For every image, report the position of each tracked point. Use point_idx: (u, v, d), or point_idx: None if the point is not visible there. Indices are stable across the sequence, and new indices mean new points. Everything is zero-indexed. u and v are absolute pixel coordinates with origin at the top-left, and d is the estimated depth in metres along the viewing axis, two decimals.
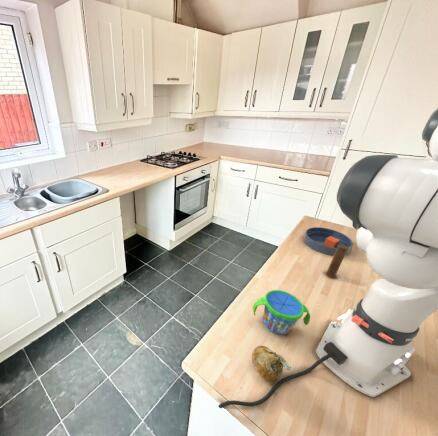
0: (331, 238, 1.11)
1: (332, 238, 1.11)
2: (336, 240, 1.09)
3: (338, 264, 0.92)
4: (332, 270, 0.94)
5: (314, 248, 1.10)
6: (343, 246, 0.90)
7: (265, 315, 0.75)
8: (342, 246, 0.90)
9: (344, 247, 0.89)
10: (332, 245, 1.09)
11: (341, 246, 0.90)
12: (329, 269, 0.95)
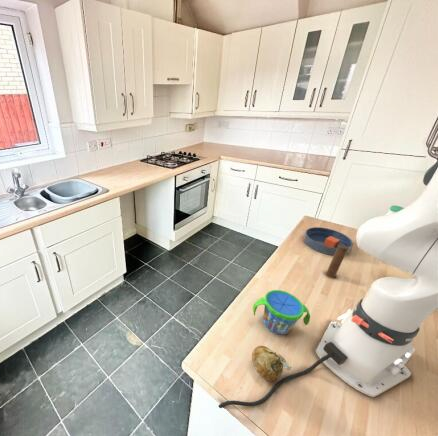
0: (331, 238, 1.11)
1: (332, 238, 1.11)
2: (336, 240, 1.09)
3: (338, 264, 0.92)
4: (332, 270, 0.94)
5: (314, 248, 1.10)
6: (343, 246, 0.90)
7: (265, 315, 0.75)
8: (342, 246, 0.90)
9: (344, 247, 0.89)
10: (332, 245, 1.09)
11: (341, 246, 0.90)
12: (329, 269, 0.95)
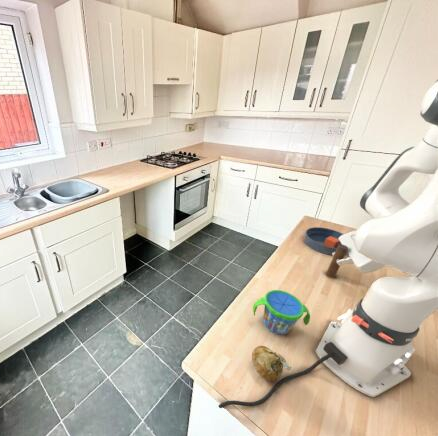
0: (331, 238, 1.11)
1: (332, 238, 1.11)
2: (336, 240, 1.09)
3: None
4: (332, 270, 0.94)
5: (314, 248, 1.10)
6: (343, 246, 0.90)
7: (265, 315, 0.75)
8: (342, 246, 0.90)
9: (344, 247, 0.89)
10: (332, 245, 1.09)
11: (341, 246, 0.90)
12: (329, 269, 0.95)
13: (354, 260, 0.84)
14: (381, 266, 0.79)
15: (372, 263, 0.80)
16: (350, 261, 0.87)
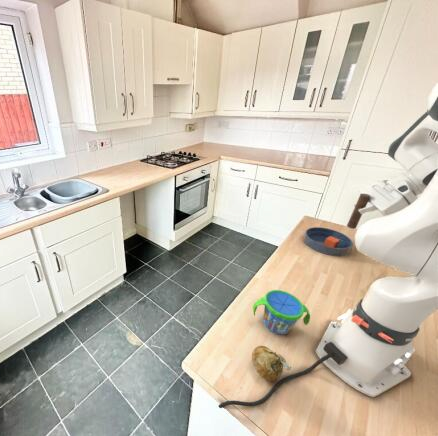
0: (331, 238, 1.11)
1: (332, 238, 1.11)
2: (336, 240, 1.09)
3: (360, 213, 0.93)
4: (353, 220, 0.95)
5: (314, 248, 1.10)
6: (365, 194, 0.91)
7: (265, 315, 0.75)
8: (364, 194, 0.91)
9: (367, 195, 0.91)
10: (332, 245, 1.09)
11: (363, 195, 0.91)
12: (350, 220, 0.96)
13: (377, 205, 0.86)
14: (405, 208, 0.81)
15: (396, 205, 0.81)
16: (373, 208, 0.89)
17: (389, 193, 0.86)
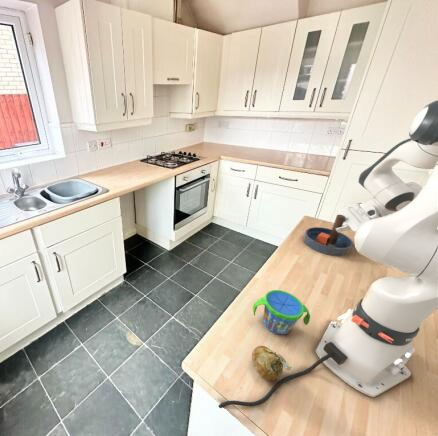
0: (323, 234, 1.14)
1: (324, 234, 1.14)
2: (328, 236, 1.12)
3: (337, 232, 1.07)
4: (332, 237, 1.09)
5: (314, 248, 1.10)
6: (341, 216, 1.05)
7: (265, 315, 0.75)
8: (340, 216, 1.05)
9: (342, 216, 1.05)
10: (324, 241, 1.12)
11: (339, 216, 1.05)
12: (330, 237, 1.10)
13: (350, 226, 1.00)
14: None
15: None
16: (347, 228, 1.03)
17: (361, 215, 1.00)
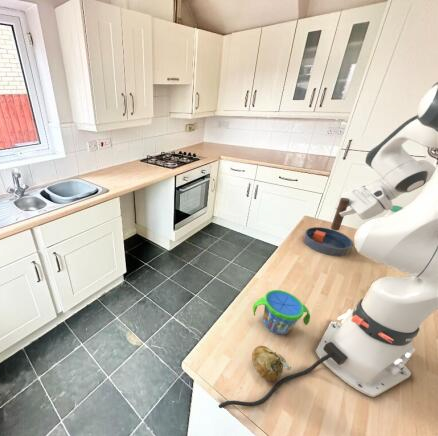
0: (318, 232, 1.15)
1: (319, 232, 1.16)
2: (323, 234, 1.14)
3: (341, 216, 1.00)
4: (336, 222, 1.02)
5: (314, 248, 1.10)
6: (345, 198, 0.98)
7: (265, 315, 0.75)
8: (344, 199, 0.98)
9: (346, 199, 0.98)
10: (321, 239, 1.14)
11: (343, 199, 0.98)
12: (333, 222, 1.03)
13: (356, 209, 0.93)
14: (380, 211, 0.88)
15: (372, 208, 0.88)
16: (352, 211, 0.96)
17: (366, 197, 0.94)
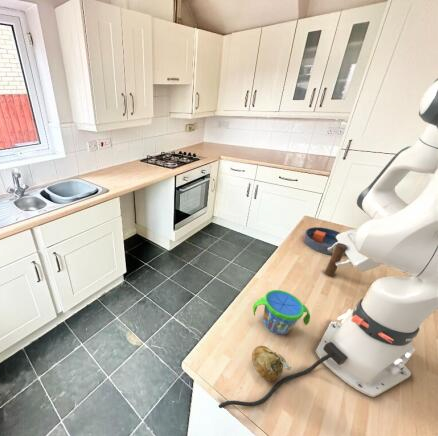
0: (318, 232, 1.15)
1: (319, 232, 1.16)
2: (323, 234, 1.14)
3: None
4: (330, 268, 0.94)
5: (314, 248, 1.10)
6: (342, 245, 0.90)
7: (265, 315, 0.75)
8: (341, 245, 0.90)
9: (343, 246, 0.90)
10: (321, 239, 1.14)
11: (340, 245, 0.90)
12: (327, 268, 0.95)
13: (351, 258, 0.85)
14: (377, 264, 0.80)
15: (368, 261, 0.80)
16: (350, 264, 0.86)
17: None
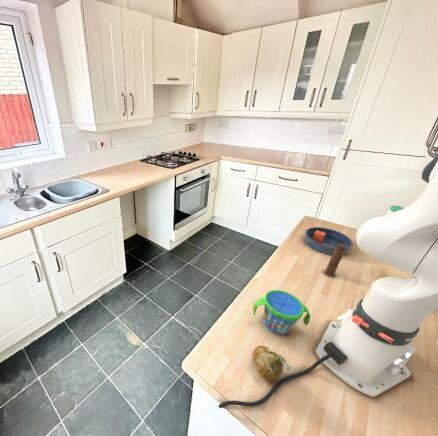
0: (318, 232, 1.15)
1: (319, 232, 1.16)
2: (323, 234, 1.14)
3: (336, 263, 0.92)
4: (330, 268, 0.94)
5: (314, 248, 1.10)
6: (342, 245, 0.90)
7: (265, 315, 0.75)
8: (341, 245, 0.90)
9: (343, 246, 0.90)
10: (321, 239, 1.14)
11: (340, 245, 0.90)
12: (327, 268, 0.95)
13: None
14: None
15: None
16: None
17: None
